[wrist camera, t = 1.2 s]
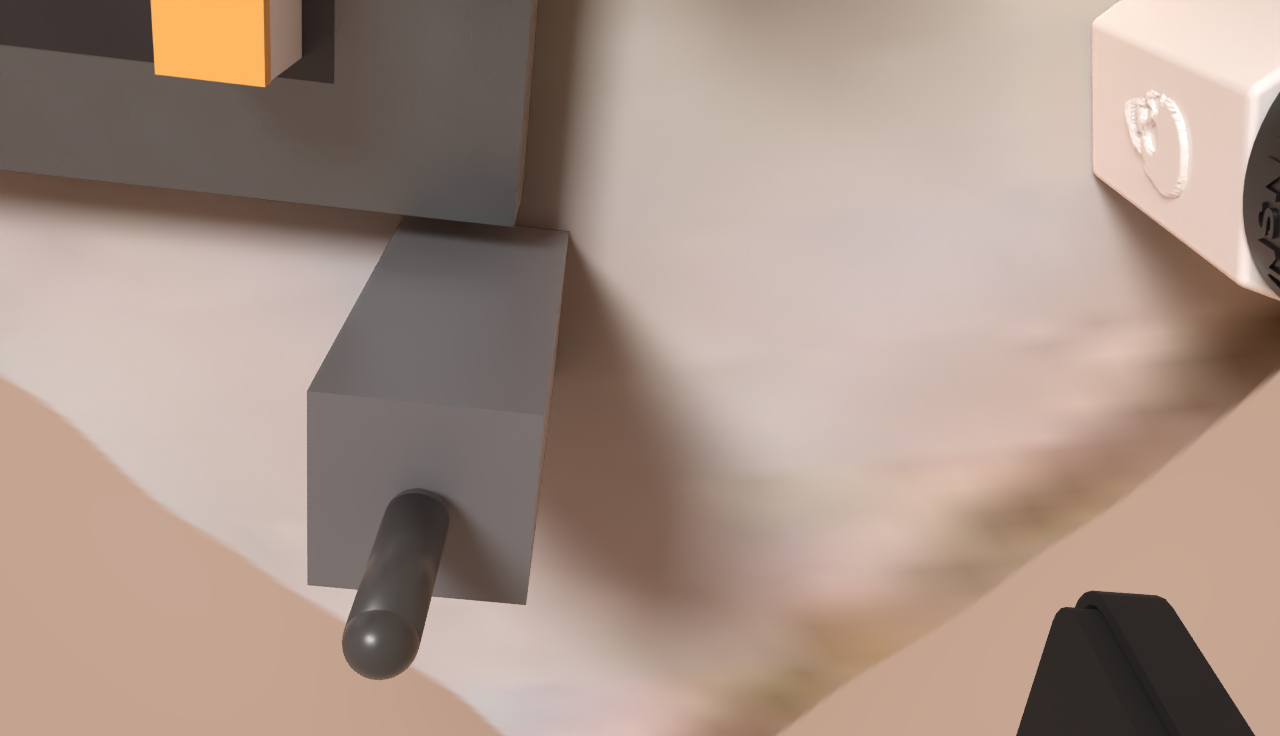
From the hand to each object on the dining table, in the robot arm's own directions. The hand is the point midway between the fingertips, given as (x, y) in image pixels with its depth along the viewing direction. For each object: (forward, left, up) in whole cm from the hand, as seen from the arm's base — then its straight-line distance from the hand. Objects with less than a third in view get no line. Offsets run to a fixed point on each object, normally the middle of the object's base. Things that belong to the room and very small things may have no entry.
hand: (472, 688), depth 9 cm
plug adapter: (+8, -2, -26) cm, 28 cm away
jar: (-2, +19, -27) cm, 33 cm away
